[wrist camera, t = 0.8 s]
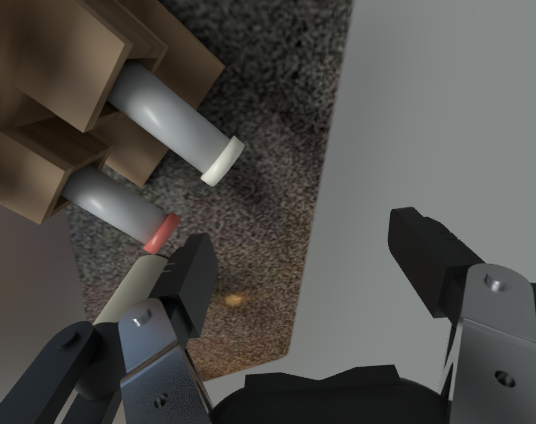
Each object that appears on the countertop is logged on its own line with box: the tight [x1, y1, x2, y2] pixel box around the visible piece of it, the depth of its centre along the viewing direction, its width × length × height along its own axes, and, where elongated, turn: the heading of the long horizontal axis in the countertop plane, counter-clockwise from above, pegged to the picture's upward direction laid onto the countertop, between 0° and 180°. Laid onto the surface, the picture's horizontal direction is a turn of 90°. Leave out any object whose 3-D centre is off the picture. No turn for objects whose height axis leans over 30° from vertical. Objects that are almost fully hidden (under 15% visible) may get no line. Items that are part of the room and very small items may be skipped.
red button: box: [60, 164, 181, 255], centre depth 25 cm, size 5×10×5 cm, turn 48°
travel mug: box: [93, 255, 168, 330], centre depth 38 cm, size 8×8×18 cm
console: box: [0, 0, 226, 225], centre depth 22 cm, size 20×10×18 cm, turn 138°
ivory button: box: [107, 60, 245, 187], centre depth 20 cm, size 5×10×5 cm, turn 48°
